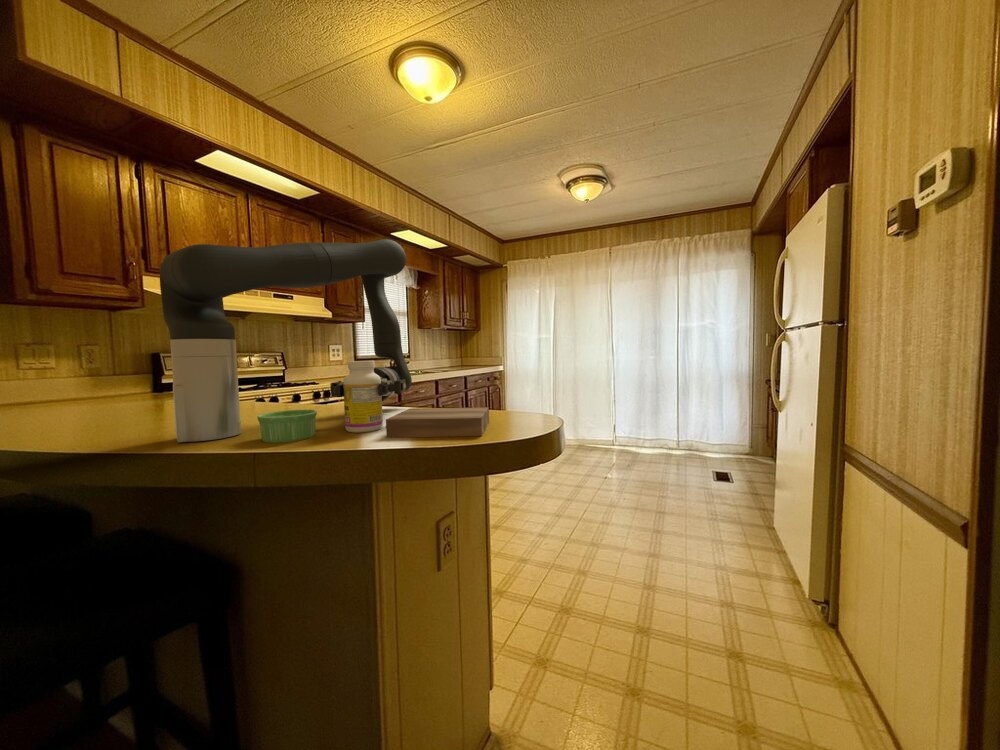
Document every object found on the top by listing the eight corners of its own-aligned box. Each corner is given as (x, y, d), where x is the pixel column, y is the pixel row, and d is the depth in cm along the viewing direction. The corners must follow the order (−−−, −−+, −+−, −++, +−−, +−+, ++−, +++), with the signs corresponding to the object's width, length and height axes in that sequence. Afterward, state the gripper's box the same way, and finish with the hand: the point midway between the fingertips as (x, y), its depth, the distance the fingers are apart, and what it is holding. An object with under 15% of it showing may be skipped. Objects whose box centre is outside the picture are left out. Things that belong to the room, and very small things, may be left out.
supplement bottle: (349, 427, 76) (345, 361, 75) (384, 425, 77) (381, 360, 76) (342, 434, 69) (338, 361, 68) (381, 432, 70) (377, 360, 70)
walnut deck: (481, 436, 64) (481, 418, 64) (386, 437, 65) (385, 419, 65) (489, 422, 77) (488, 407, 77) (409, 423, 78) (409, 408, 78)
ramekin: (247, 445, 63) (245, 418, 62) (275, 434, 72) (273, 410, 71) (305, 443, 63) (304, 416, 63) (325, 432, 72) (324, 408, 72)
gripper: (343, 368, 86) (316, 371, 69) (410, 366, 87) (399, 368, 71) (345, 402, 86) (319, 413, 70) (411, 399, 88) (401, 409, 71)
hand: (359, 390), depth 70 cm, fingers open, 7 cm apart
